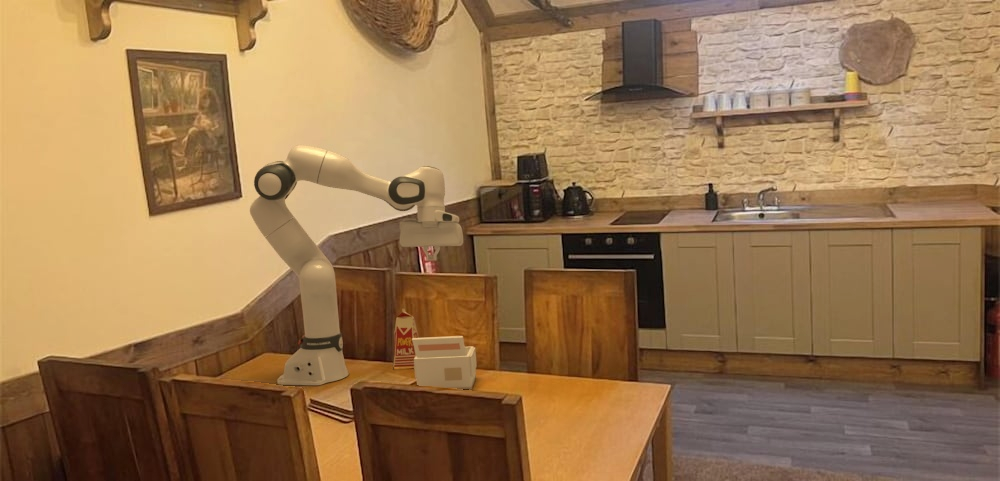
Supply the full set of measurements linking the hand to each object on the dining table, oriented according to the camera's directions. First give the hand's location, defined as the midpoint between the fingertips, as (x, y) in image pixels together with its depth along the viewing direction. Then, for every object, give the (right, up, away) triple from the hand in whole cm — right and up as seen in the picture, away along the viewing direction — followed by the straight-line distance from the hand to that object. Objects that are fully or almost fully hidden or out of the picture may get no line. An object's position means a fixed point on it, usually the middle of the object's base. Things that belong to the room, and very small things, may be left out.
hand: (431, 260), depth 232 cm
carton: (+6, -37, -11) cm, 39 cm away
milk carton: (-9, -36, +14) cm, 39 cm away
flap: (+4, -24, -21) cm, 32 cm away
